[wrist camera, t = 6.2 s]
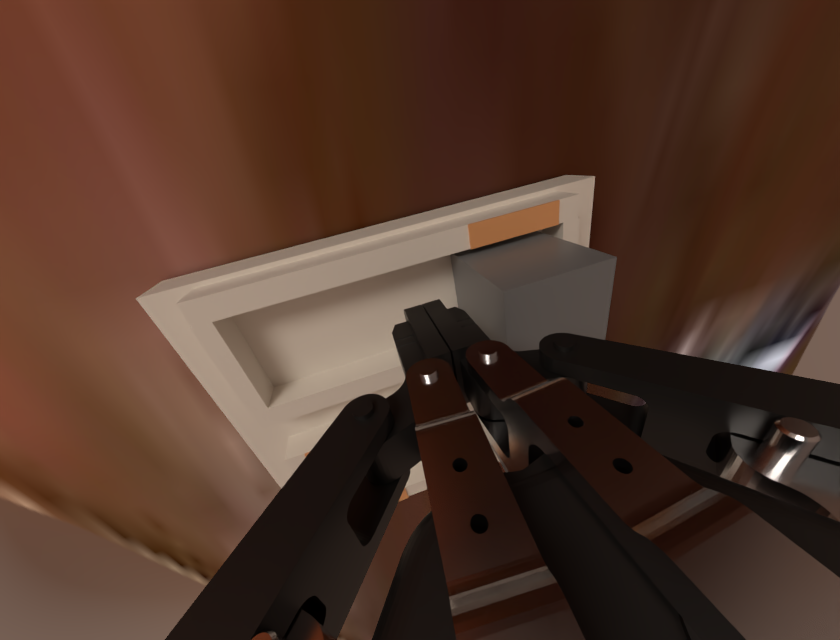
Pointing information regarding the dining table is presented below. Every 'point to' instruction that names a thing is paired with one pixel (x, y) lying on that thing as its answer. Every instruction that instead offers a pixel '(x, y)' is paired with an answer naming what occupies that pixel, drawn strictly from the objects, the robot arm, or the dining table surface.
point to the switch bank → (337, 313)
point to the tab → (534, 289)
